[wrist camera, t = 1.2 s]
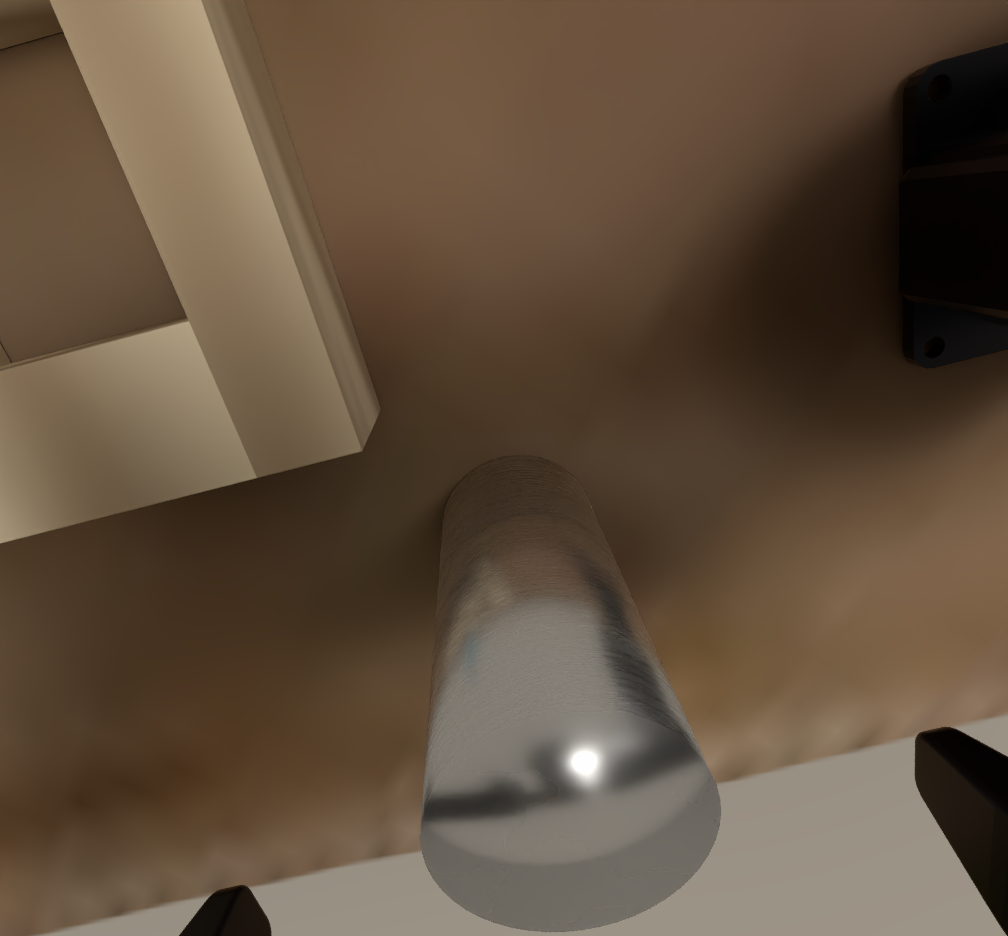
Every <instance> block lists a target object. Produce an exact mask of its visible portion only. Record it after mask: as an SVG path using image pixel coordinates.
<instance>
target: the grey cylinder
mask: <svg viewBox="0 0 1008 936" xmlns="http://www.w3.org/2000/svg"><path fill="white" fill-rule="evenodd" d="M720 816H721V806H720V797H719V793H718V789H717V785H716V783H715V781H714V778H713V776H712V774H711V772H710V769H709V767H708V765H707V763H706V761H705V758H704V756H703V754H702V752H701V749H700V747H699V745H698V743H697V741H696V738H695V736H694V734H693V732H692V729H691V727H690V725H689V723H688V721H687V718H686V716H685V714H684V712H683V709H682V707H681V705H680V703H679V700H678V698H677V696H676V694H675V692H674V689H673V687H672V685H671V683H670V680H669V678H668V676H667V674H666V672H665V669H664V667H663V665H662V663H661V660H660V658H659V656H658V654H657V651H656V649H655V647H654V645H653V643H652V640H651V638H650V636H649V634H648V631H647V629H646V627H645V625H644V623H643V620H642V618H641V616H640V614H639V611H638V609H637V607H636V605H635V602H634V600H633V598H632V596H631V594H630V591H629V589H628V587H627V585H626V582H625V580H624V578H623V576H622V574H621V571H620V569H619V567H618V565H617V562H616V560H615V558H614V556H613V554H612V551H611V549H610V547H609V545H608V542H607V540H606V538H605V536H604V533H603V531H602V529H601V527H600V525H599V522H598V520H597V518H596V516H595V513H594V511H593V509H592V507H591V505H590V502H589V500H588V498H587V496H586V494H585V491H584V490H583V488H582V487H581V485H580V483H579V482H578V481H577V480H576V479H575V478H574V477H573V476H572V475H571V474H570V473H569V472H568V471H567V470H565V469H564V468H562V467H561V466H559V465H557V464H555V463H553V462H551V461H549V460H545V459H542V458H539V457H533V456H524V455H516V456H507V457H501V458H497V459H494V460H491V461H489V462H486V463H484V464H482V465H480V466H479V467H477V468H475V469H474V470H472V471H471V472H470V473H468V474H467V475H466V476H465V477H464V478H463V479H462V480H461V481H460V482H459V483H458V484H457V486H456V487H455V489H454V490H453V491H452V493H451V495H450V497H449V499H448V501H447V504H446V507H445V511H444V516H443V527H442V540H441V554H440V568H439V582H438V596H437V610H436V624H435V637H434V651H433V665H432V679H431V693H430V707H429V721H428V734H427V748H426V762H425V776H424V790H423V804H422V818H421V834H420V841H421V848H422V854H423V857H424V860H425V863H426V866H427V868H428V870H429V872H430V874H431V876H432V877H433V879H434V880H435V882H436V883H437V884H438V885H439V887H440V888H441V889H442V891H443V892H445V893H446V894H447V895H448V896H449V897H450V898H451V899H452V900H453V901H454V902H456V903H457V904H459V905H460V906H461V907H463V908H464V909H466V910H468V911H470V912H471V913H473V914H475V915H477V916H479V917H481V918H484V919H486V920H489V921H491V922H494V923H497V924H501V925H504V926H508V927H512V928H517V929H523V930H529V931H541V932H566V931H577V930H585V929H590V928H596V927H601V926H604V925H608V924H612V923H615V922H619V921H621V920H624V919H627V918H629V917H632V916H635V915H637V914H639V913H641V912H643V911H646V910H648V909H650V908H651V907H653V906H655V905H657V904H658V903H660V902H662V901H663V900H665V899H666V898H668V897H669V896H670V895H672V894H673V893H674V892H676V891H677V890H678V889H680V888H681V887H682V886H683V885H684V884H685V883H686V882H687V881H688V880H689V879H690V878H691V877H692V876H693V875H694V874H695V872H697V870H698V869H699V868H700V867H701V865H702V864H703V862H704V861H705V859H706V858H707V856H708V855H709V853H710V851H711V849H712V847H713V844H714V842H715V840H716V837H717V833H718V830H719V825H720Z"/></svg>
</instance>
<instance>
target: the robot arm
mask: <svg viewBox="0 0 1008 936" xmlns="http://www.w3.org/2000/svg"><path fill="white" fill-rule="evenodd" d="M932 79H933V80H934V81H935V82H937V86H938V93H937V97H936V98H935V99H934V101H933V102H932V101H931V100H930V99H929V98H928V94H927V90H928V86H929V84H930V82H931V81H932ZM899 290H900V293H901V294H902V295H903V354H904V357H905V358H906V360H907V361H908V362H910V363H912V364H915V365H918V366H921V367H924V368H935V367H939V366H943V365H947V364H951V363H955V362H959V361H963V360H967V359H971V358H975V357H979V356H983V355H987V354H991V353H995V352H999V351H1003V350H1007V349H1008V43H1005V44H1002V45H998V46H994V47H990V48H987V49H983V50H979V51H975V52H972V53H968V54H964V55H960V56H957V57H953V58H949V59H946V60H942V61H939V62H936V63H933V64H930V65H927V66H925V67H923V68H921V69H919V70H917V71H916V72H915V73H914V74H913V75H912V76H911V77H910V78H909V80H908V82H907V84H906V86H905V88H904V94H903V178H902V180H901V182H900V185H899ZM930 339H933V345H932V348H931V349H930V350H929V352H927V353H925V354H924V347H925V344H926V343H927V342H928V341H929V340H930ZM915 781H916V785H917V788H918V790H919V792H920V795H921V797H922V798H923V800H924V802H925V803H926V805H927V807H928V808H929V810H930V812H931V813H932V815H933V817H934V818H935V820H936V822H937V823H938V825H939V826H940V828H941V830H942V831H943V833H944V835H945V836H946V838H947V840H948V841H949V843H950V845H951V846H952V848H953V850H954V851H955V853H956V854H957V856H958V858H959V859H960V861H961V863H962V864H963V866H964V868H965V869H966V871H967V873H968V874H969V876H970V878H971V879H972V881H973V883H974V884H975V886H976V888H977V889H978V891H979V892H980V894H981V896H982V898H983V899H984V901H985V902H986V904H987V906H988V907H989V909H990V910H991V912H992V914H993V915H994V917H995V918H996V920H997V921H998V923H999V925H1000V926H1001V928H1002V929H1003V931H1004V932H1005V934H1006V935H1007V936H1008V757H1007V756H1006V755H1003V754H1002V753H1000V752H998V751H996V750H994V749H993V748H991V747H989V746H987V745H985V744H983V743H981V742H980V741H978V740H976V739H974V738H972V737H970V736H969V735H967V734H965V733H963V732H961V731H959V730H957V729H954V728H951V727H941V728H937V729H932V730H928V731H923V732H920V733H919V734H918V735H917V737H916V739H915ZM179 936H271V927H270V923H269V920H268V918H267V916H266V915H265V913H264V912H263V910H262V908H261V907H260V905H259V903H258V902H257V900H256V899H255V897H254V895H253V893H252V892H251V890H250V889H249V888H248V887H247V886H244V885H239V886H234V887H230V888H225V889H221V890H218V891H216V892H215V893H213V894H212V895H211V896H210V897H209V898H208V899H207V900H206V902H205V903H204V904H203V906H202V907H201V908H200V909H199V911H198V912H197V913H196V915H195V916H194V917H193V919H192V920H191V921H190V922H189V924H188V925H187V926H186V928H185V929H184V930H183V931H182V933H181V934H180V935H179Z"/></svg>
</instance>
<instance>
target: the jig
mask: <svg viewBox="0 0 1008 936" xmlns="http://www.w3.org/2000/svg"><path fill="white" fill-rule="evenodd" d="M60 32H64V35H65V37H66V39H67V42H68V44H69V46H70V48H71V51H72V53H73V55H74V58H75V60H76V62H77V65H78V67H79V69H80V71H81V74H82V76H83V78H84V81H85V83H86V85H87V88H88V90H89V92H90V94H91V97H92V99H93V101H94V104H95V106H96V108H97V111H98V113H99V115H100V118H101V120H102V122H103V124H104V127H105V129H106V131H107V134H108V136H109V138H110V141H111V143H112V145H113V147H114V150H115V152H116V154H117V157H118V159H119V161H120V164H121V166H122V168H123V170H124V173H125V175H126V177H127V180H128V182H129V184H130V187H131V189H132V191H133V194H134V196H135V198H136V200H137V203H138V205H139V207H140V210H141V212H142V214H143V217H144V219H145V221H146V223H147V226H148V228H149V230H150V233H151V235H152V237H153V240H154V242H155V244H156V246H157V249H158V251H159V253H160V256H161V258H162V260H163V263H164V265H165V267H166V270H167V272H168V274H169V276H170V279H171V281H172V283H173V286H174V288H175V290H176V293H177V295H178V297H179V299H180V302H181V304H182V306H183V309H184V311H185V313H186V316H187V317H184V318H180V319H177V320H173V321H169V322H165V323H161V324H158V325H154V326H150V327H146V328H143V329H139V330H135V331H131V332H127V333H124V334H120V335H116V336H112V337H109V338H105V339H101V340H97V341H94V342H90V343H86V344H82V345H78V346H75V347H71V348H67V349H63V350H60V351H56V352H52V353H48V354H44V355H41V356H37V357H33V358H29V359H26V360H22V361H18V362H14V363H11V362H10V360H9V358H8V356H7V355H6V353H5V351H4V349H3V347H2V346H1V344H0V543H3V542H7V541H11V540H15V539H19V538H23V537H27V536H31V535H35V534H39V533H43V532H47V531H51V530H54V529H58V528H62V527H66V526H70V525H74V524H78V523H82V522H86V521H90V520H94V519H98V518H102V517H106V516H109V515H113V514H117V513H121V512H125V511H129V510H133V509H137V508H141V507H145V506H149V505H153V504H157V503H161V502H165V501H168V500H172V499H176V498H180V497H184V496H188V495H192V494H196V493H200V492H204V491H208V490H212V489H216V488H220V487H223V486H227V485H231V484H235V483H239V482H243V481H247V480H251V479H255V478H259V477H263V476H267V475H271V474H275V473H278V472H282V471H286V470H290V469H294V468H298V467H302V466H306V465H310V464H314V463H318V462H322V461H326V460H330V459H333V458H337V457H341V456H345V455H349V454H353V453H357V452H361V451H363V448H364V446H365V444H366V442H367V439H368V437H369V435H370V433H371V431H372V428H373V426H374V424H375V422H376V419H377V417H378V415H379V413H380V411H381V408H380V405H379V402H378V399H377V396H376V393H375V390H374V387H373V384H372V381H371V378H370V375H369V372H368V369H367V366H366V363H365V360H364V357H363V354H362V351H361V348H360V345H359V342H358V339H357V336H356V333H355V330H354V327H353V324H352V321H351V318H350V315H349V312H348V309H347V306H346V303H345V300H344V297H343V294H342V291H341V288H340V285H339V282H338V279H337V276H336V273H335V270H334V267H333V264H332V261H331V258H330V255H329V252H328V249H327V247H326V244H325V241H324V238H323V235H322V232H321V229H320V226H319V223H318V220H317V217H316V214H315V211H314V208H313V205H312V202H311V199H310V196H309V193H308V190H307V187H306V184H305V181H304V178H303V175H302V172H301V169H300V166H299V163H298V160H297V157H296V154H295V151H294V148H293V145H292V142H291V139H290V136H289V133H288V130H287V127H286V124H285V121H284V118H283V115H282V112H281V109H280V106H279V103H278V100H277V97H276V94H275V91H274V88H273V85H272V82H271V79H270V76H269V73H268V71H267V68H266V65H265V62H264V59H263V56H262V53H261V50H260V47H259V44H258V41H257V38H256V35H255V32H254V29H253V26H252V23H251V20H250V17H249V14H248V11H247V8H246V5H245V2H244V0H0V49H4V48H7V47H11V46H14V45H18V44H21V43H25V42H28V41H32V40H35V39H39V38H42V37H46V36H49V35H53V34H56V33H60Z"/></svg>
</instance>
